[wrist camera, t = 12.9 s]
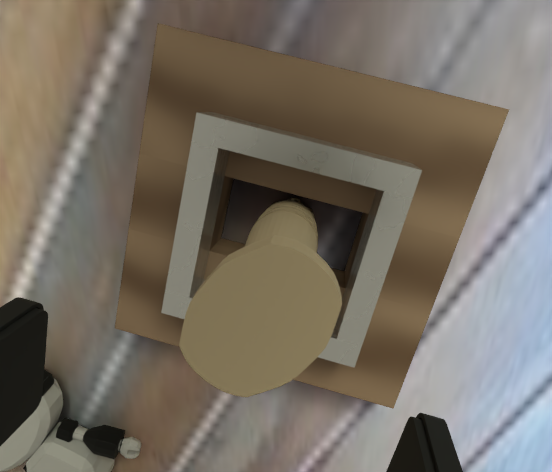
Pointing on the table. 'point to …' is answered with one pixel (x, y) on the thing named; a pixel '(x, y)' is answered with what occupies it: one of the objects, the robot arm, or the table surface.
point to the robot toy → (63, 440)
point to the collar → (310, 157)
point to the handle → (264, 307)
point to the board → (307, 183)
